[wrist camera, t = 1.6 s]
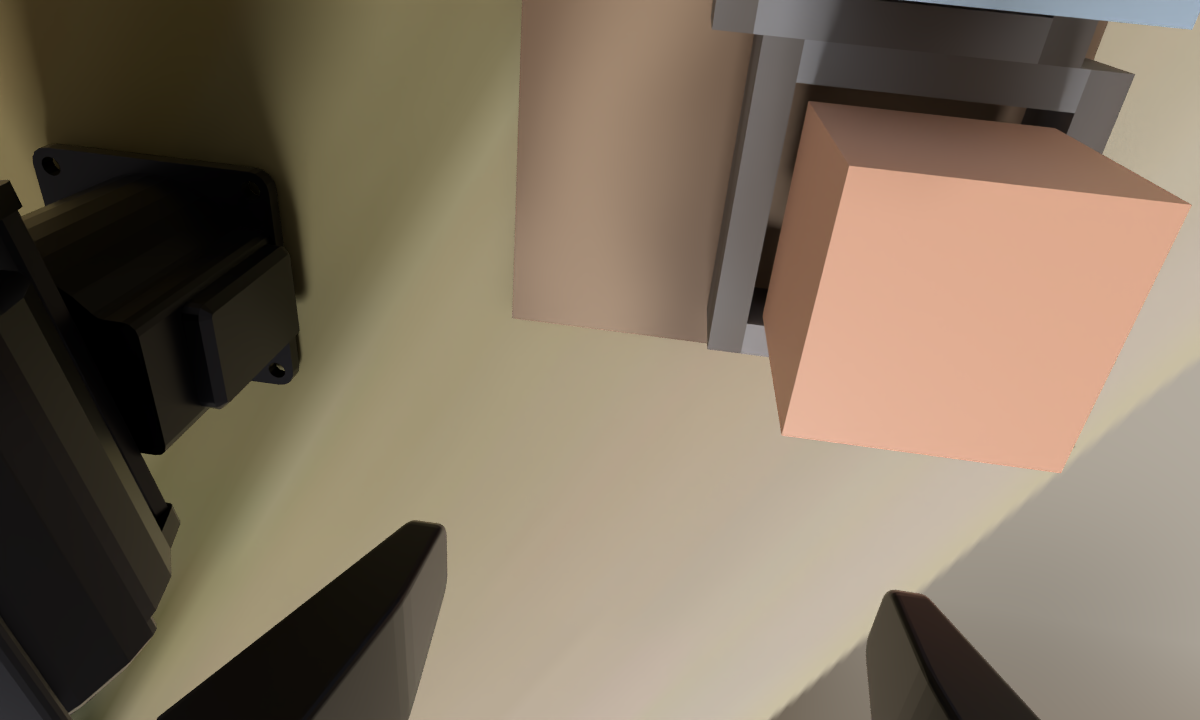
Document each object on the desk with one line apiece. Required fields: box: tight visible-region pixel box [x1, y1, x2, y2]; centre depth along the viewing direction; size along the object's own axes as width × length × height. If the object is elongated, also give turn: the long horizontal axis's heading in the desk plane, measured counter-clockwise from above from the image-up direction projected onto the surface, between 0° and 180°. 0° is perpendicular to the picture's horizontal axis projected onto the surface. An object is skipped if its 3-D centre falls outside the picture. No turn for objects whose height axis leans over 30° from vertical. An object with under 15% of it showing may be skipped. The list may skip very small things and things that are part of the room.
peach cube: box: [763, 101, 1192, 473], centre depth 14 cm, size 5×5×5 cm
